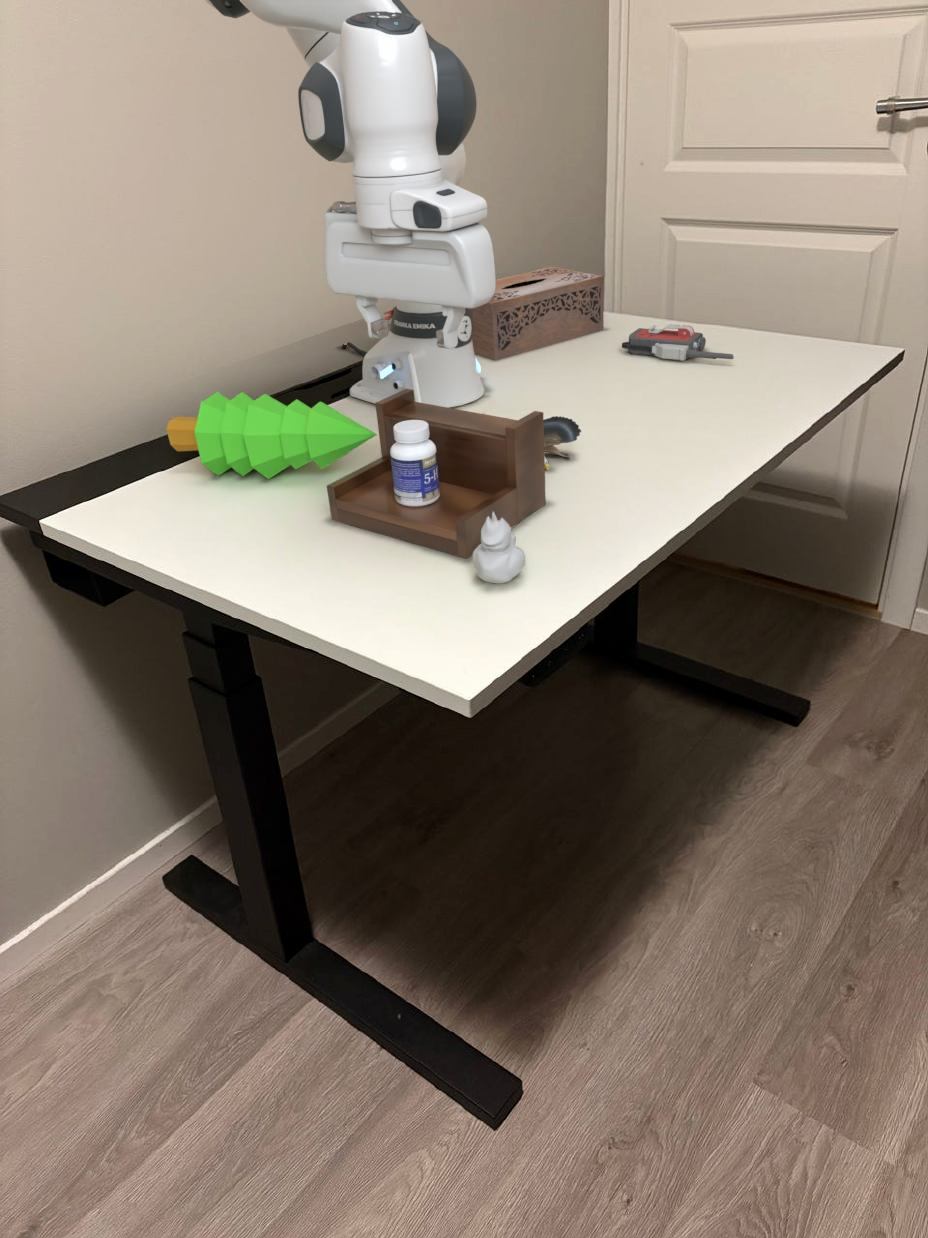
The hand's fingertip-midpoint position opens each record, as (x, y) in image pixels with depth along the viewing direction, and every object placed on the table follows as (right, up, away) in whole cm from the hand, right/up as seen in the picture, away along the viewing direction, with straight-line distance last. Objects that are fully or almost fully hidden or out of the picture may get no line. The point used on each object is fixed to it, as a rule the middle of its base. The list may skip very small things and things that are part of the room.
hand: (412, 342), depth 102 cm
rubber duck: (+9, -26, -2) cm, 27 cm away
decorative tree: (-20, -10, +26) cm, 34 cm away
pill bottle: (0, -16, +9) cm, 18 cm away
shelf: (+2, -17, +12) cm, 21 cm away
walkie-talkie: (+43, +15, +60) cm, 75 cm away
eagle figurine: (+16, -10, +23) cm, 29 cm away
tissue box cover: (+17, +23, +76) cm, 81 cm away
